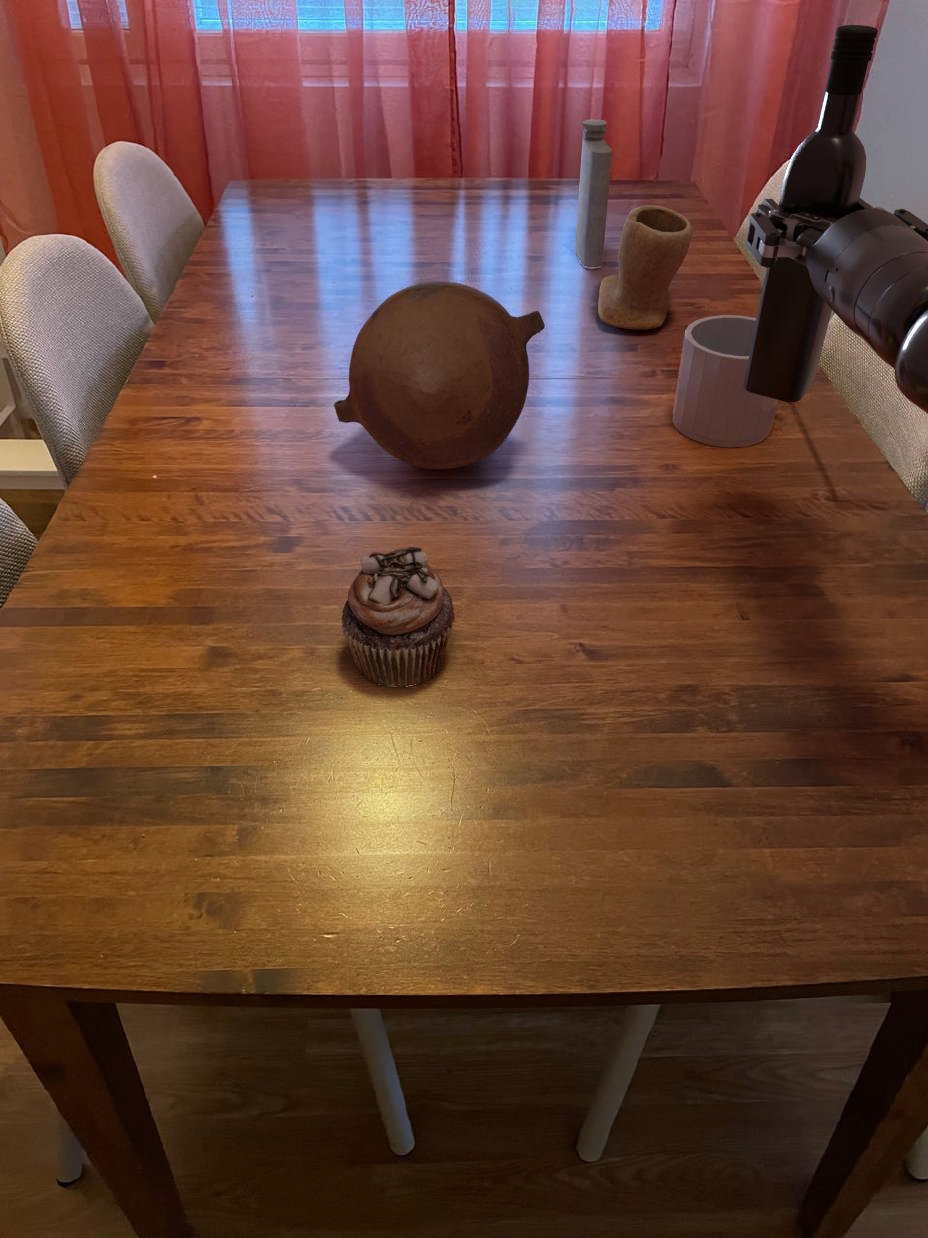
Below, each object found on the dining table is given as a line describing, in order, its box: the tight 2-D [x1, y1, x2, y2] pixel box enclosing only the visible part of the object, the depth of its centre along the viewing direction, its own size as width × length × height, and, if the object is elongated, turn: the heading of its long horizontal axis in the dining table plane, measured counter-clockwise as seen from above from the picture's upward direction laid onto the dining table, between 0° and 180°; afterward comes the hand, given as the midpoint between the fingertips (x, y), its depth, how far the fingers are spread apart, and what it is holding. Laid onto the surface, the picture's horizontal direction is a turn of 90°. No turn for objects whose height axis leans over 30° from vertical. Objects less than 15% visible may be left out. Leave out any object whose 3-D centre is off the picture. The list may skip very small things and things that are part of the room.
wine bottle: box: [743, 24, 879, 404], centre depth 82 cm, size 6×6×30 cm
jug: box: [333, 280, 546, 470], centre depth 107 cm, size 20×20×30 cm
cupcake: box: [340, 546, 456, 688], centre depth 80 cm, size 10×10×10 cm
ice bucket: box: [671, 314, 780, 448], centre depth 111 cm, size 12×12×11 cm
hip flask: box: [574, 119, 613, 267], centre depth 152 cm, size 16×4×20 cm, turn 179°
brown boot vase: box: [597, 204, 693, 331], centre depth 134 cm, size 15×12×15 cm
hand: (807, 209), depth 83 cm, fingers closed on wine bottle, 7 cm apart
